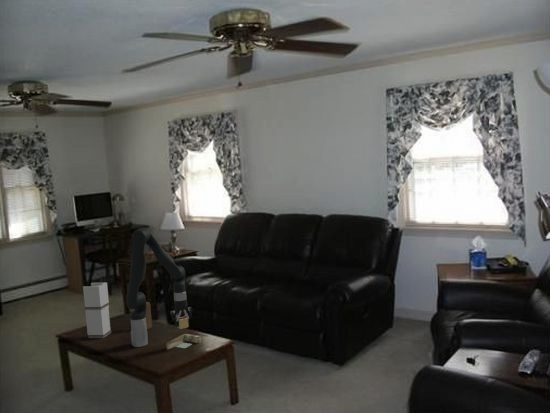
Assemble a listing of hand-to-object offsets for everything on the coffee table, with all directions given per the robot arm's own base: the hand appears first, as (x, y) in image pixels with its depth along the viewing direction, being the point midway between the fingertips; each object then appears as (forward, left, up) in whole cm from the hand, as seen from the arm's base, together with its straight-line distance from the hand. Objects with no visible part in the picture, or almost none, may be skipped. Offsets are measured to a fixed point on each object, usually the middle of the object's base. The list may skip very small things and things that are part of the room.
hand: (182, 325), depth 303 cm
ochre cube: (0, 0, -1) cm, 1 cm away
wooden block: (-48, +15, -13) cm, 52 cm away
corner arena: (+1, 0, -13) cm, 13 cm away
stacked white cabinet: (-69, -6, -13) cm, 70 cm away
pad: (0, 0, -13) cm, 13 cm away
